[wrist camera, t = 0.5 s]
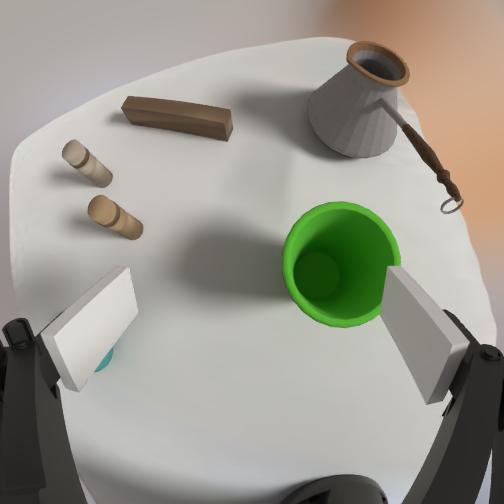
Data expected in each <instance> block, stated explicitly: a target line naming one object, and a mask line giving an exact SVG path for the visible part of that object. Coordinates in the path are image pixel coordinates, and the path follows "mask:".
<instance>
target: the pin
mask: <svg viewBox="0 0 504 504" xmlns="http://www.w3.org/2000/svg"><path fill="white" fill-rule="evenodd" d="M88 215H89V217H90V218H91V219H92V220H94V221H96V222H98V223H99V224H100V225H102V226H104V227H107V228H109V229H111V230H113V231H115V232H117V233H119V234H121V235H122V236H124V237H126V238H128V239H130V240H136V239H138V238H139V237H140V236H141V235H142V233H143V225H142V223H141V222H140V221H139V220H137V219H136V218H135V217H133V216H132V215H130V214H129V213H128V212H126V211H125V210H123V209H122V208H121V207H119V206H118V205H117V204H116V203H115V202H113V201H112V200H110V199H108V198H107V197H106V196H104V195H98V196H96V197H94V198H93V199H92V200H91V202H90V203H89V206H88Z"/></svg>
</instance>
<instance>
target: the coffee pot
mask: <svg viewBox="0 0 504 504" xmlns="http://www.w3.org/2000/svg"><path fill="white" fill-rule="evenodd" d="M347 62H348V63H349V65H347V66H346V67H345V68H343V69H342V70H341V71H339V72H338V73H337V74H336V75H334V76H333V77H332V78H331V79H329V80H328V81H327V82H326V83H324V84H323V85H322V86H321V87H319V88H318V89H317V90H316V91H314V93H313V95H312V96H311V98H310V99H309V104H308V116H309V121H310V123H311V125H312V127H313V129H314V131H315V133H316V134H317V135H318V136H319V138H320V139H321V140H322V141H323V142H324V143H325V144H326V145H328V146H329V147H330V148H331V149H333V150H335V151H337V152H339V153H341V154H343V155H346V156H350V157H354V158H369V157H374V156H379V155H380V154H382V153H384V152H386V151H387V150H389V148H390V147H391V146H392V145H393V143H394V141H395V138H396V135H397V124H398V125H399V126H400V127H401V128H402V131H403V132H404V133H405V135H406V136H407V138H408V139H409V140H410V142H411V143H412V145H413V146H414V148H415V149H416V151H417V152H418V154H419V155H420V157H421V158H422V160H423V161H424V162H425V163H426V164H427V165H428V166H429V167H430V168H431V169H432V170H433V171H434V172H435V173H436V174H437V181H438V182H439V183H442V184H444V185H445V187H446V190H447V192H448V194H449V195H450V196H451V197H452V198H450V199H448V200H446V201H445V202H444V203H443V204H442V206H441V209H440V210H441V212H442V213H444V214H450V213H453V212H455V211H457V210H458V209H460V207H461V206H462V205H463V203H464V200H463V199H462V198H461V196H460V194H459V191H458V189H457V186H456V185H455V184H454V183H452V181H451V180H450V173H449V171H447V170H444V169H443V167H442V165H441V163H440V161H439V160H438V158H437V156H436V154H435V152H434V151H433V150H432V149H431V147H430V146H429V145H428V144H427V143H426V142H425V141H424V140H423V139H422V138H421V136H420V135H419V134H418V133H417V132H416V131H415V130H414V129H413V128H412V127H411V126H410V125H409V124H407V122H406V121H405V120H404V119H403V118H402V117H401V115H400V114H399V113H398V112H397V87H399V86H402V85H404V84H406V83H407V82H408V80H409V77H410V73H409V69H408V67H407V65H406V63H405V62H404V61H403V59H402V58H401V57H399V56H398V55H397V54H396V53H395V52H393V51H392V50H391V49H389V48H387V47H385V46H383V45H380V44H377V43H374V42H368V41H360V42H356V43H354V44H352V45H351V46H350V47H349V49H348V52H347ZM452 200H455V201H456V202H458V201H460V200H462V202H461V204H460V205H459V206H458V207H457V208H455V209H453V210H451V211H448V212H446V211H443V207H444V206H445V205H446V204H447V203H448V202H450V201H452Z"/></svg>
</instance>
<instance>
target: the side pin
mask: <svg viewBox="0 0 504 504" xmlns="http://www.w3.org/2000/svg"><path fill="white" fill-rule="evenodd" d="M62 157H63V159H65V160H66V161H67V162H68V163H69V164H70V165H71V166H73V167H74V168H76V169H77V170H78V171H80V172H81V173H82V174H83V175H85V176H86V177H87V178H89V179H90V180H91V181H92V182H94V183H95V184H96V185H98V186H99V187H101V188H105V187H107V186H108V185H109V184H110V183H111V181H112V178H113V175H112V173H111V172H110V171H109V170H108V169H107V168H106V167H105V166H104V165H103V164H102V163H101V162H100V161H98V160H97V159H96V158H95V157H94V156H93V155H92V154H91V153H90V152H89V150H88V149H87V148H85V147H84V146H83V145H82V144H81V143H80V142H79V141H77V140H71V141H69V142H68V143H67V144H66V145H65V147H64V148H63V151H62Z"/></svg>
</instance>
